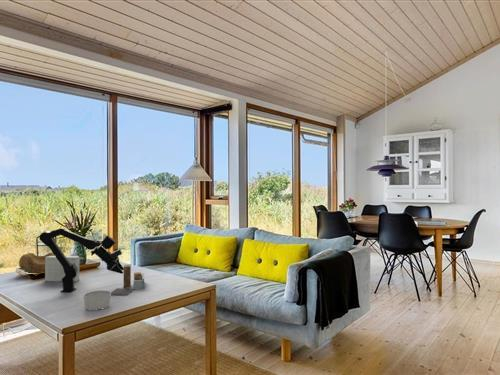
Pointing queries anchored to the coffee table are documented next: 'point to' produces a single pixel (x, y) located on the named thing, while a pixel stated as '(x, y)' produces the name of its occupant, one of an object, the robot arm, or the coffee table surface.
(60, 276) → the skincare box
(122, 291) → the charcoal mat
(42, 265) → the rough brown rock
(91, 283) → the coffee table surface
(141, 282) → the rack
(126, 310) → the coffee table surface
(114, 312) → the coffee table surface
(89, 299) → the ramekin
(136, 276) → the upper oak offcut
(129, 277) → the brown wooden block
